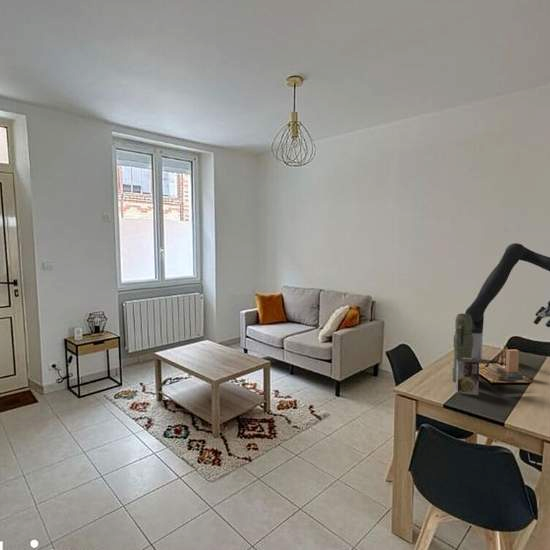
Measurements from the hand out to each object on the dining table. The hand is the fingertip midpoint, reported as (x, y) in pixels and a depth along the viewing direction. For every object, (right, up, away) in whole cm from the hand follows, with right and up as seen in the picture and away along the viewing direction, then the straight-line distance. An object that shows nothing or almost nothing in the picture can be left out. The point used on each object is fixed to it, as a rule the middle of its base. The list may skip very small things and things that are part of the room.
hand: (541, 324), depth 190 cm
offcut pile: (-23, -27, -1) cm, 36 cm away
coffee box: (-47, -30, -15) cm, 58 cm away
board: (-16, -27, 0) cm, 31 cm away
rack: (-19, -28, 0) cm, 34 cm away
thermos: (-42, -29, -2) cm, 51 cm away
